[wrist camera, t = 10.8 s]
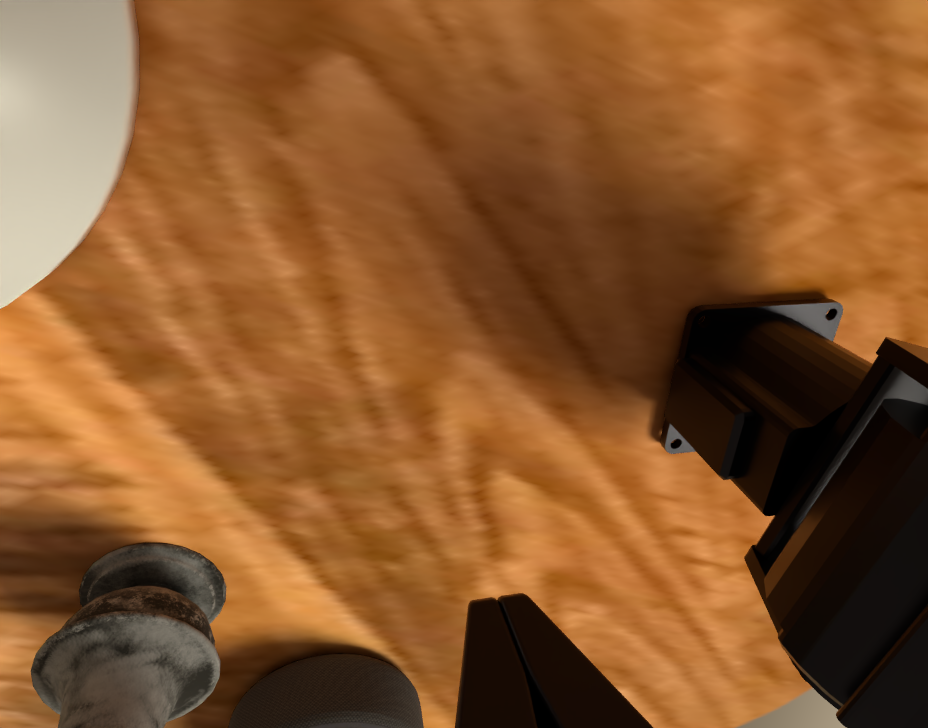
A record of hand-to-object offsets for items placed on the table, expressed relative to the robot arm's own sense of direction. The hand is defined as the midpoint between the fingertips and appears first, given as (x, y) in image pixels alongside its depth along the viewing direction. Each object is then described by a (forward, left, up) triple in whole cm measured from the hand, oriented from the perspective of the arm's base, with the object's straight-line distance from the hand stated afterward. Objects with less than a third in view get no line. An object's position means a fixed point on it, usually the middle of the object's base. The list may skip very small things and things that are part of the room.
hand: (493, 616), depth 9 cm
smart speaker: (+4, +21, -13) cm, 25 cm away
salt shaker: (+10, +12, -13) cm, 20 cm away
